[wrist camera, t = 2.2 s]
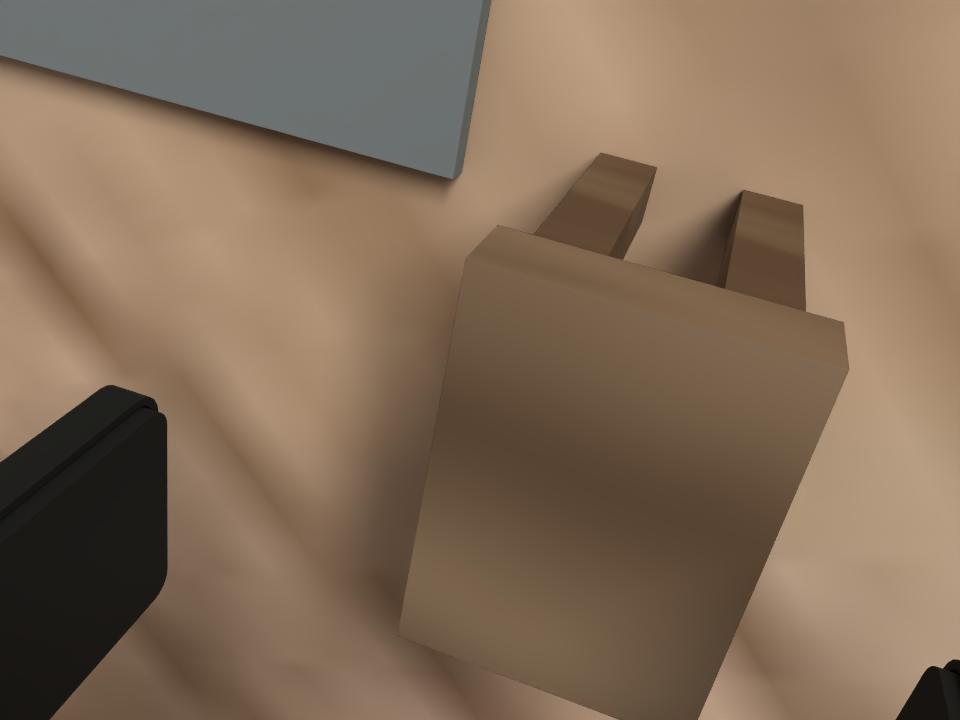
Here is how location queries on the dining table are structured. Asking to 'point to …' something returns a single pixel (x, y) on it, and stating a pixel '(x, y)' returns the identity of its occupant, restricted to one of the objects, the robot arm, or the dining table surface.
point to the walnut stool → (617, 450)
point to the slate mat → (280, 64)
